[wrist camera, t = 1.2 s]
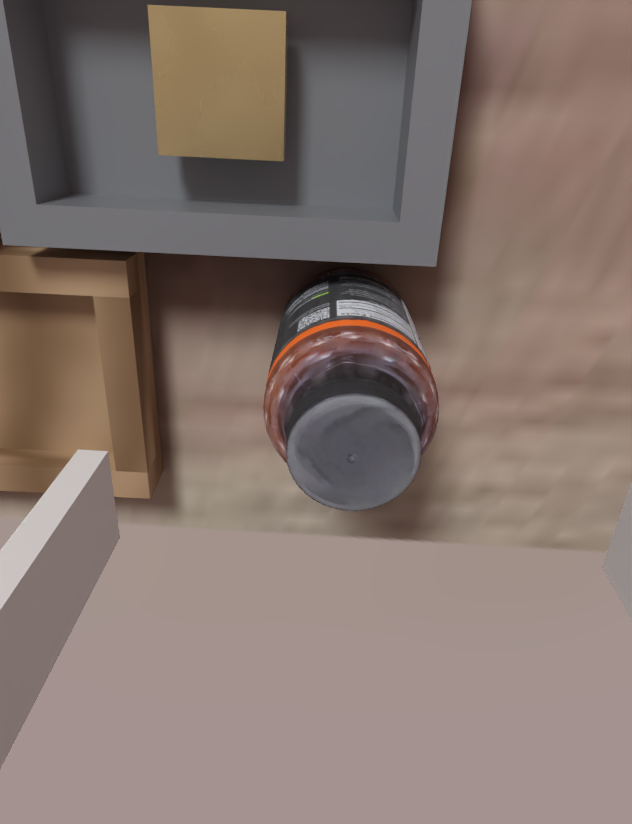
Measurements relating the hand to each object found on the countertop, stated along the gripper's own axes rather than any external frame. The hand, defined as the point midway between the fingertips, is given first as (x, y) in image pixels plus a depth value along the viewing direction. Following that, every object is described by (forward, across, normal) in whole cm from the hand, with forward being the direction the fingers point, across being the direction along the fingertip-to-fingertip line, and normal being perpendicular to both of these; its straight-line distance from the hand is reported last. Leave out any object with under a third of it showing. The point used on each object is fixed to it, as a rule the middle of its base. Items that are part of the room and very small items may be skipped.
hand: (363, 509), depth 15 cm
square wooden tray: (+13, -15, -2) cm, 21 cm away
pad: (+11, -5, +10) cm, 16 cm away
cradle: (+14, -5, +10) cm, 17 cm away
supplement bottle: (+14, 0, 0) cm, 14 cm away
